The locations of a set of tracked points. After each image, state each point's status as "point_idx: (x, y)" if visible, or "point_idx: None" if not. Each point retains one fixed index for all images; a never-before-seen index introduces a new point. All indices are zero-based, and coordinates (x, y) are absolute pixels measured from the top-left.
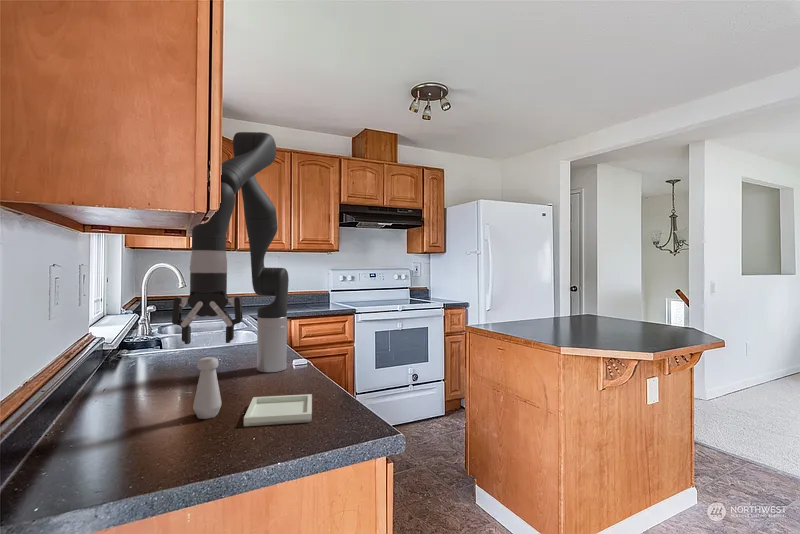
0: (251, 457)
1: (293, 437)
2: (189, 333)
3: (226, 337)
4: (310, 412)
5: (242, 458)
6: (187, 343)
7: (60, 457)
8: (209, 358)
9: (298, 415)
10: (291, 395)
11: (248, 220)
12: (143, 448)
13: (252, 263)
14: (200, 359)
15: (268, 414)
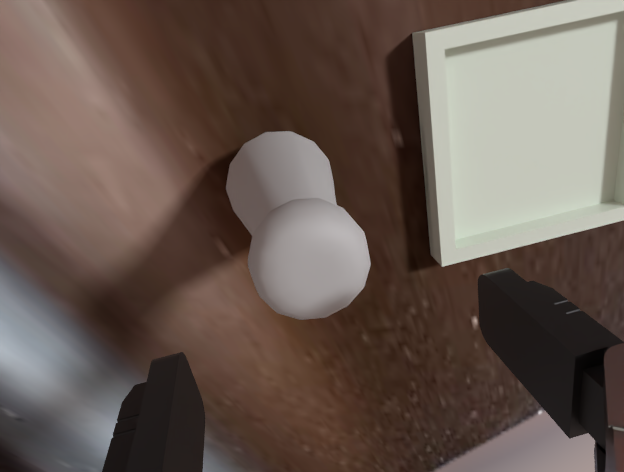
0: (485, 402)
1: None
2: (186, 445)
3: (511, 363)
4: None
5: (468, 407)
6: (201, 413)
7: (52, 461)
8: (330, 285)
9: (599, 223)
10: (586, 3)
11: None
12: (223, 400)
13: None
14: (276, 297)
15: (497, 178)
